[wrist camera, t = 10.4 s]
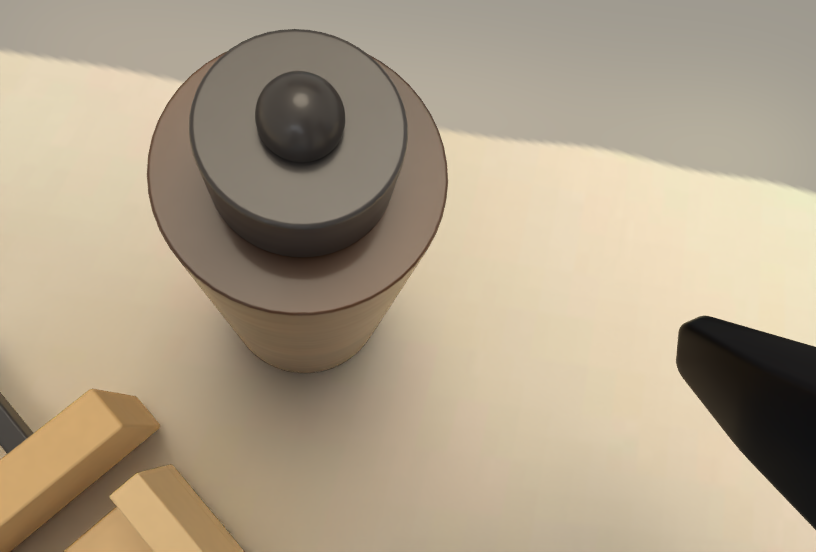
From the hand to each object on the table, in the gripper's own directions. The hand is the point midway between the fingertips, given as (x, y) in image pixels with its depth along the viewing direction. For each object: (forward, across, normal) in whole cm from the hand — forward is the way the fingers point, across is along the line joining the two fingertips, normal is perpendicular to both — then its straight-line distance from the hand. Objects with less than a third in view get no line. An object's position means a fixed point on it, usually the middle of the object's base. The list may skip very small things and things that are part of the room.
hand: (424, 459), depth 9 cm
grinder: (+12, 0, +5) cm, 12 cm away
